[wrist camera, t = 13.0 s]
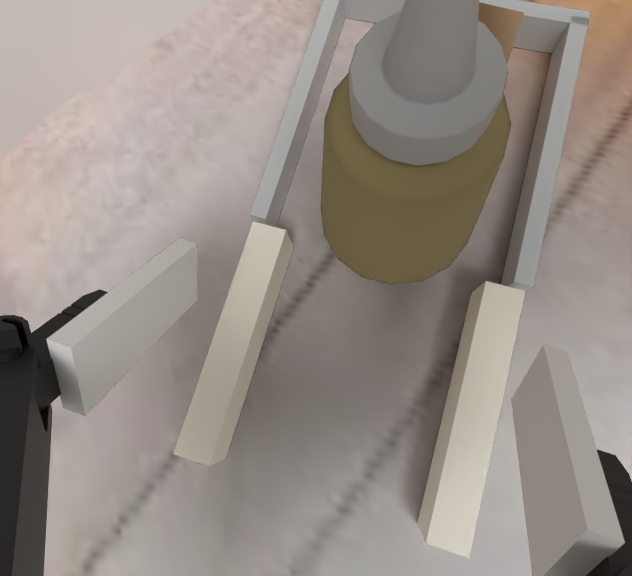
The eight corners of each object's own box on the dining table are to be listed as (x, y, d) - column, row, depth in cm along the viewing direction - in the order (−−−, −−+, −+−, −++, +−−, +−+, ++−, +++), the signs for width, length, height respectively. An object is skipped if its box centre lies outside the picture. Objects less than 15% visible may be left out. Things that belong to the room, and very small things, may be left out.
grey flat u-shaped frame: (570, 43, 28) (590, 11, 26) (516, 296, 25) (533, 286, 23) (335, 3, 31) (333, -29, 28) (258, 229, 28) (249, 214, 25)
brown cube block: (499, 69, 29) (524, 12, 24) (478, 127, 28) (501, 79, 24) (432, 52, 29) (445, -6, 25) (410, 108, 29) (420, 58, 24)
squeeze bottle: (330, 171, 28) (287, -184, 11) (459, 176, 27) (644, -202, 10) (319, 294, 26) (246, 110, 9) (456, 303, 25) (675, 120, 8)
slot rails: (506, 301, 25) (525, 291, 22) (454, 536, 23) (469, 558, 20) (264, 238, 27) (252, 221, 25) (194, 446, 25) (172, 454, 22)
